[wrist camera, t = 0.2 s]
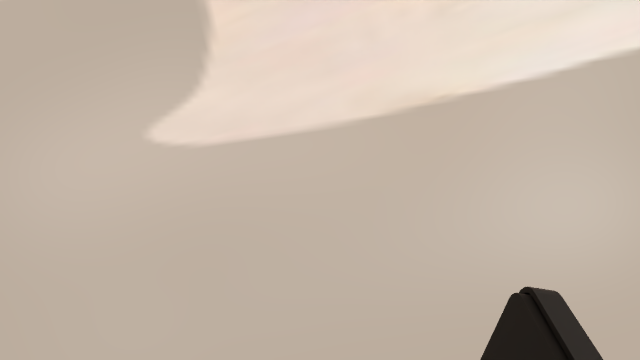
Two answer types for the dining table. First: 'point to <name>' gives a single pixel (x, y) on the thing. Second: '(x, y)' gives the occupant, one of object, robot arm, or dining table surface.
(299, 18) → the dining table surface
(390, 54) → the dining table surface
